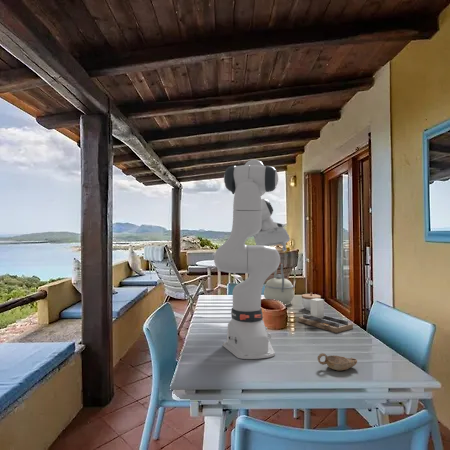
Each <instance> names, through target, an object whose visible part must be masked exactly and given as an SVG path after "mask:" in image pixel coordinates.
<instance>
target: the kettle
mask: <svg viewBox="0 0 450 450" xmlns="http://www.w3.org/2000/svg"><path fill="white" fill-rule="evenodd" d="M284 266H285V265H284V263H282V262H280V264H279V266H278V268H280V273H278V274H277V272H278V268H277V269H276V270H275V271H274V272H273V273H274V274H273V278H270V279H267V280H266V281H265V282H266V283H264V285H263V287H264V291H263V297H264V299H265V300H266V299H275V300H279V301H281V302H283V303H284V304H286V305H285V306H290V305H291V302H292V301H293V300H294V298H295V291H294V285H293V283H292V282H291V281H290V280H289V279H287V278H285V273H284Z"/></svg>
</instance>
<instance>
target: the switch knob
mask: <svg viewBox="0 0 450 450" xmlns="http://www.w3.org/2000/svg"><path fill="white" fill-rule="evenodd" d="M310 315H311V316H314V317H318V318H321V319H322V318H324V315H325V298H324V299H323V298H321V299H319V298H315V299H311V311H310Z"/></svg>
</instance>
